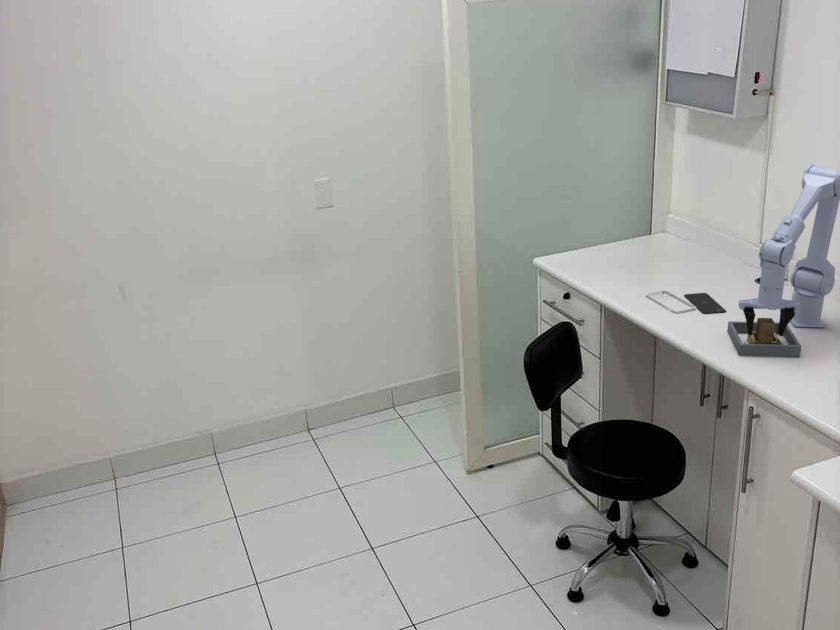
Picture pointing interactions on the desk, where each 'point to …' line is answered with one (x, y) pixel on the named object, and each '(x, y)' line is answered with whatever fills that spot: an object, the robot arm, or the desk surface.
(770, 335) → the walnut peg
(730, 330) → the walled box
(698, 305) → the smartphone
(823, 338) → the desk surface
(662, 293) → the phone case
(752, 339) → the frame
